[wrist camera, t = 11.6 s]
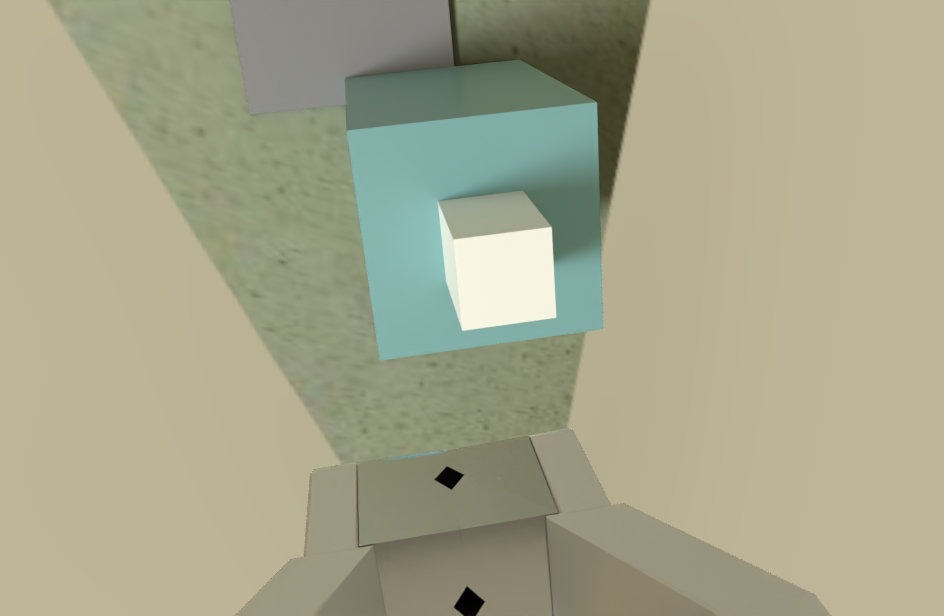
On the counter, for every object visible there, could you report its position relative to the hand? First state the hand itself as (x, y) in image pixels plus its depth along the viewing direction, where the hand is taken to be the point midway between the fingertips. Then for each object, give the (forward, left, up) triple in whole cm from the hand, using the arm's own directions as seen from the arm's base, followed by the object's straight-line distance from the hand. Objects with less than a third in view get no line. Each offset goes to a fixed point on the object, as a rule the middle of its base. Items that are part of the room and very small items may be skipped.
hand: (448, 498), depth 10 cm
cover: (+2, +3, -34) cm, 34 cm away
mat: (-6, -1, -34) cm, 34 cm away
